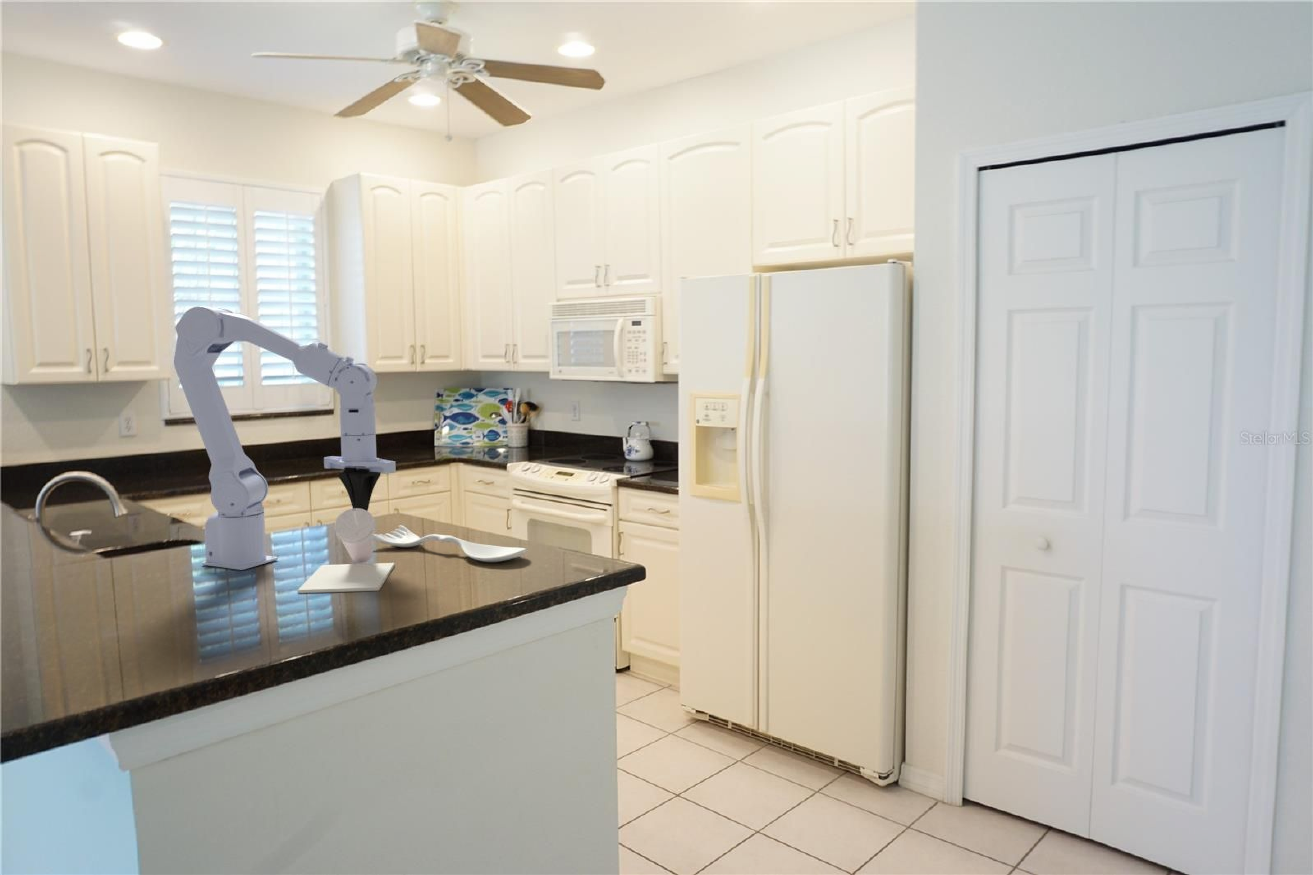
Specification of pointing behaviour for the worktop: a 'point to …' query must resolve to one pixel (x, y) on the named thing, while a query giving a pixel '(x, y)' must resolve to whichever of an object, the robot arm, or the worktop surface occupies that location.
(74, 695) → the worktop surface
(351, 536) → the smoothie
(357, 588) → the mat
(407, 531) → the white plastic utensil
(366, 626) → the worktop surface
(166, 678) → the worktop surface
